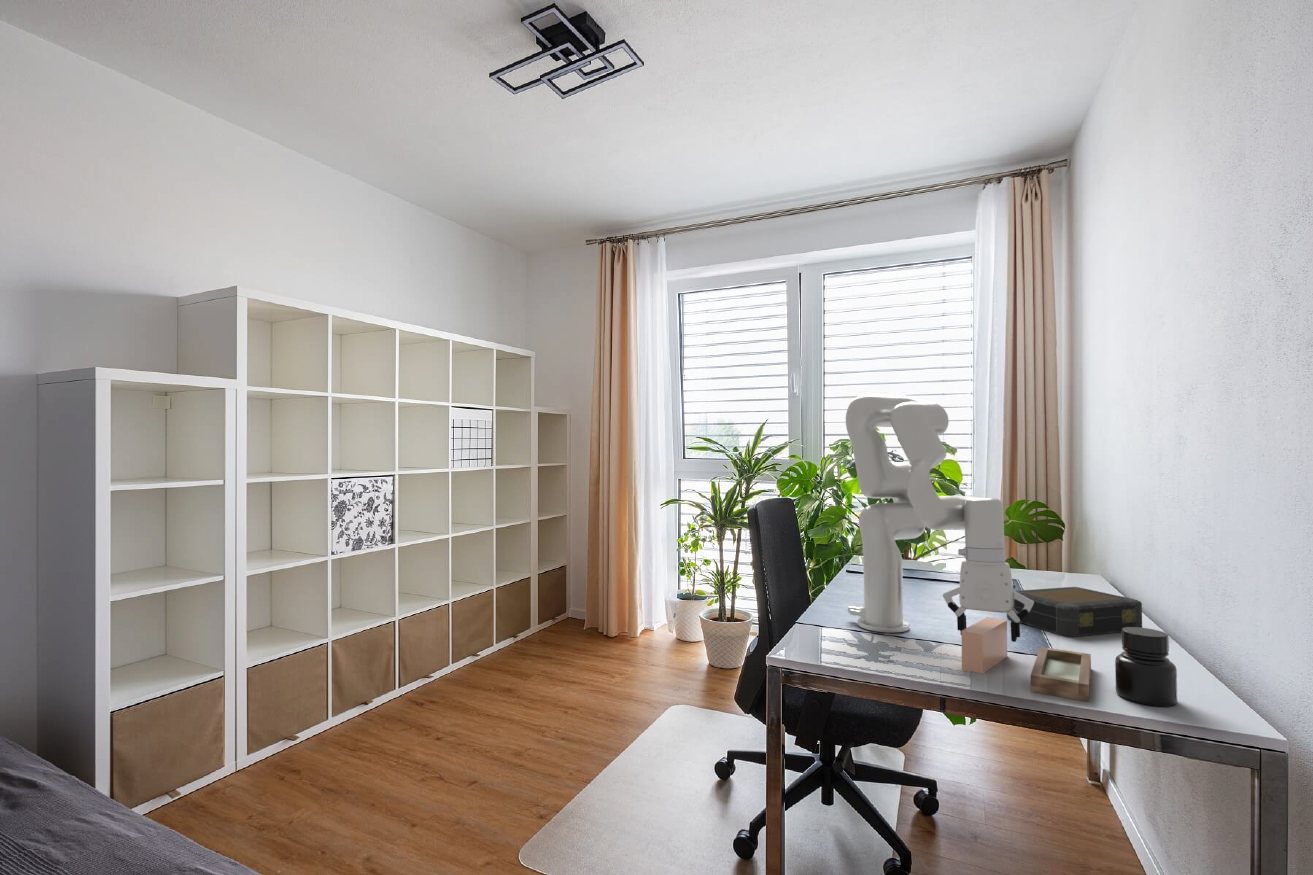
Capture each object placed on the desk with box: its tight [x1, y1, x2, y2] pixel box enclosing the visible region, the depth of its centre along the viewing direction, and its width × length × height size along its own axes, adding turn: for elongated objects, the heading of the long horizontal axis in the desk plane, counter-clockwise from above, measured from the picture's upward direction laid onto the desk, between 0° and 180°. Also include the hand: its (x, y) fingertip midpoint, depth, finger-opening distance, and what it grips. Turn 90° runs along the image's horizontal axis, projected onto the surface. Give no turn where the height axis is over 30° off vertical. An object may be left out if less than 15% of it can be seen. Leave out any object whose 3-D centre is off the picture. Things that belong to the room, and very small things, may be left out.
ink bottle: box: [1114, 627, 1178, 707], centre depth 118 cm, size 10×9×12 cm
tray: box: [1030, 646, 1092, 703], centre depth 127 cm, size 9×22×3 cm, turn 145°
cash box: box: [1006, 586, 1143, 638], centre depth 170 cm, size 25×20×8 cm
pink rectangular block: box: [960, 616, 1008, 675], centre depth 138 cm, size 4×16×8 cm, turn 136°
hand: (988, 637), depth 137 cm, fingers open, 9 cm apart
